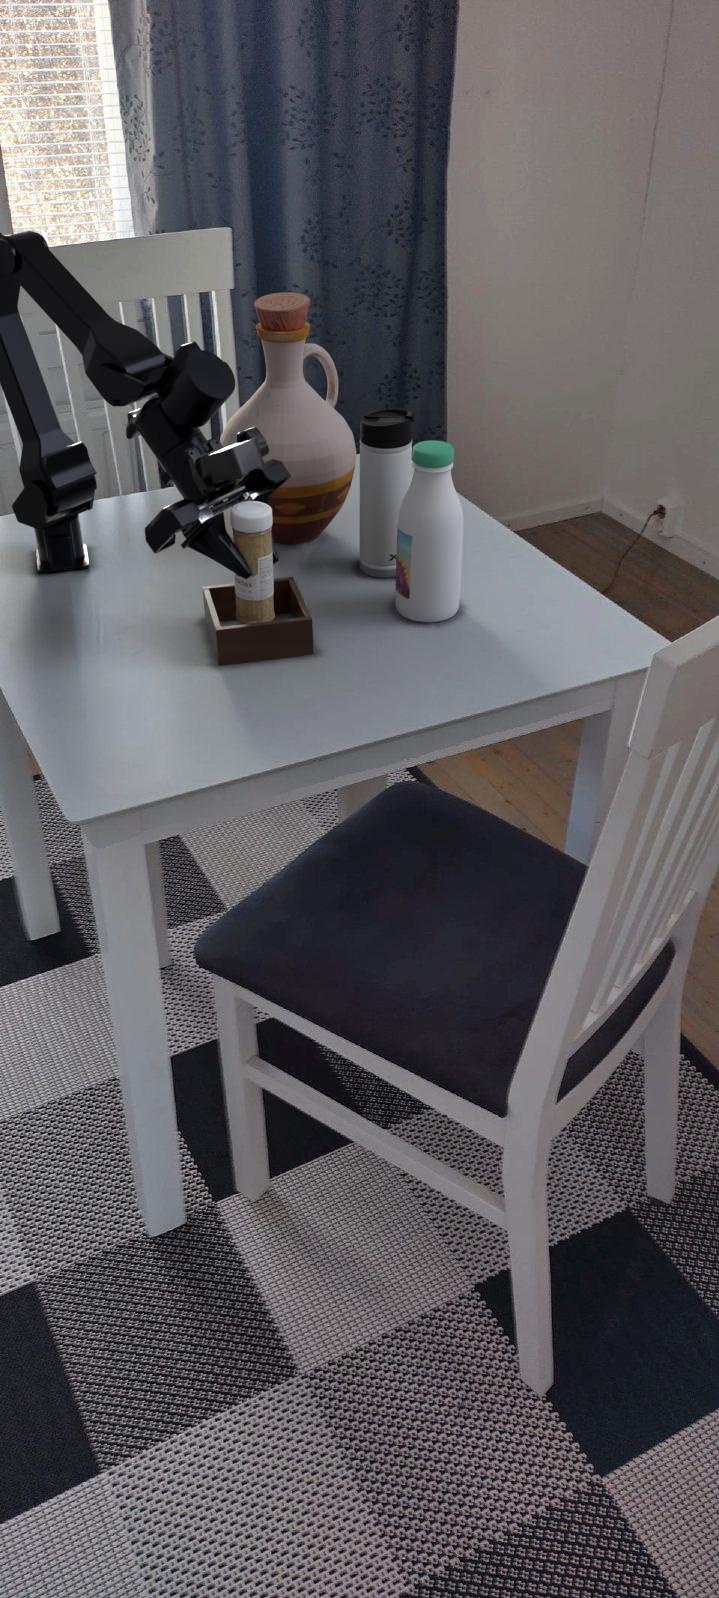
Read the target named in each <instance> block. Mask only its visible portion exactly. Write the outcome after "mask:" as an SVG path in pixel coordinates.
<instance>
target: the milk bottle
mask: <svg viewBox="0 0 719 1598" xmlns="http://www.w3.org/2000/svg"><path fill="white" fill-rule="evenodd" d="M454 459H455V449H454V446H453V445H452V444H450V443H448V442H446V441H442V440H424V441H420V442H417V443H416V444H414V445H413V446H412V462H411V467H413V469H414V470H413V475H412V477H411V484H410V486H409V489H408V491H407V493H406V494H405V496H404V499H403V501H402V503H401V506H400V510H399V516H398V525H397V549H396V576H395V596H394V597H395V608H396V610H397V612H398V613H399V614H400V615H401V616H403V618H406V619H409V620H411V621H414V622H415V621H416V622H421V623H435V622H436V623H437V622H443V621H446V620H448V619H451V618H452V617H453V616H455V615H456V614H457V612H458V610H459V608H460V600H461V588H462V587H461V586H462V585H461V584H462V568H463V567H462V566H463V547H464V512H463V506H462V503H461V501H460V498H459V496H458V493H457V491H456V488H455V485H454V481H453V476H452V469H453V468H454Z"/></svg>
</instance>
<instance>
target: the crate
mask: <svg viewBox="0 0 719 1598" xmlns="http://www.w3.org/2000/svg"><path fill="white" fill-rule="evenodd" d="M273 581H274V593H273V604H274V612H275V617H276V616H283V615H290V617H291V618H285V619H277V620H273V621H267V622H259V623H250V624H234V625H225V626H222V625H221V623H223V622H231V621H238V620H237V618H236V611H237V609H236V593H235V582H232V583H223V584H215V585H214V584H213V585H206V586H205V585H204V586H202V587H201V588H202V599H203V611H204V621H205V625H206V628H207V632H208V634H209V638H210V641H211V645H212V648H213V651H214V654H215V657H216V661H217V665H218V667H220V666H221V667H222V666H229V665H236V664H246V663H253V662H261V661H262V662H263V661H269V660H277V659H278V660H279V659H286V658H293V657H300V656H301V657H302V656H303V657H304V656H309V655H314V627H313V626H314V625H313V624H314V620H313V617H312V615H311V612H310V610H309V608H308V606H307V604H306V601H305V599H304V597H303V594H302V593H301V591H300V589H299V586H298V584H297V581H296V579H295V577H294V576H287V577H280V578H273Z"/></svg>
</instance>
